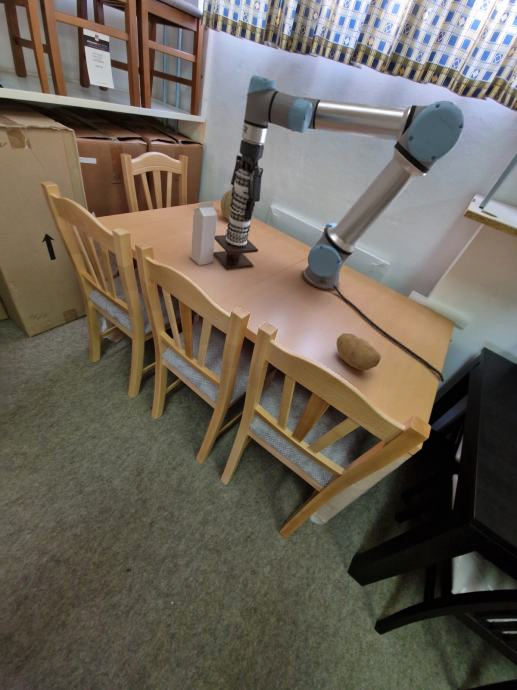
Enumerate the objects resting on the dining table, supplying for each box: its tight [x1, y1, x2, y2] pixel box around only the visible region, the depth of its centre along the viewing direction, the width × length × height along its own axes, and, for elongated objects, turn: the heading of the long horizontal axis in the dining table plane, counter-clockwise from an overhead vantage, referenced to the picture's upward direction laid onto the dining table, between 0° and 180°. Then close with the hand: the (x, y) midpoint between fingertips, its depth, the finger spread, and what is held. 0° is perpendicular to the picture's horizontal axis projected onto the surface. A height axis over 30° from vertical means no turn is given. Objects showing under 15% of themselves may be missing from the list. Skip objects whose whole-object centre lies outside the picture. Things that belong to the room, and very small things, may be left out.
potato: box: [336, 332, 382, 372], centre depth 89 cm, size 10×14×8 cm
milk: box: [190, 201, 218, 266], centre depth 108 cm, size 6×6×22 cm
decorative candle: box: [225, 168, 256, 246], centre depth 107 cm, size 9×9×25 cm
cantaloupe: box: [220, 186, 233, 221], centre depth 146 cm, size 15×15×15 cm
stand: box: [213, 234, 259, 271], centre depth 118 cm, size 13×13×8 cm
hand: (240, 213), depth 108 cm, fingers closed on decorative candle, 9 cm apart
